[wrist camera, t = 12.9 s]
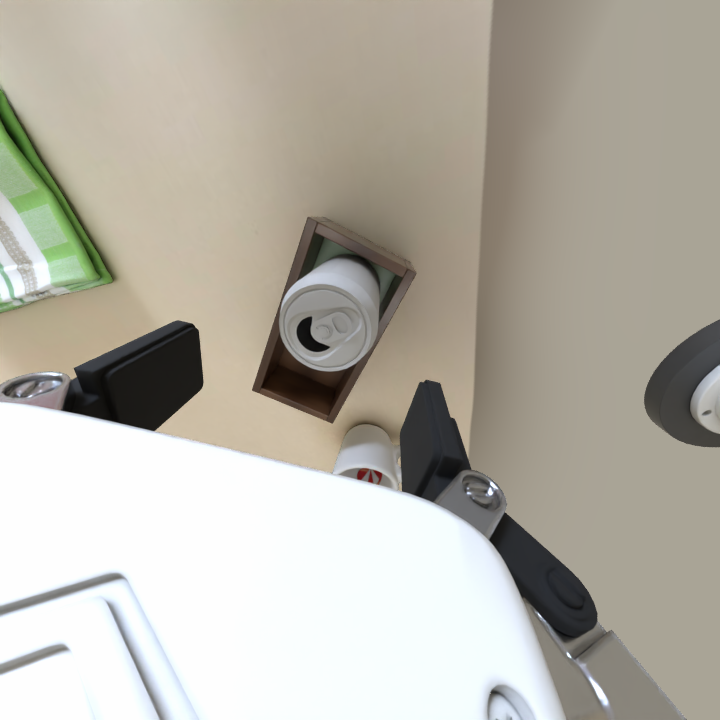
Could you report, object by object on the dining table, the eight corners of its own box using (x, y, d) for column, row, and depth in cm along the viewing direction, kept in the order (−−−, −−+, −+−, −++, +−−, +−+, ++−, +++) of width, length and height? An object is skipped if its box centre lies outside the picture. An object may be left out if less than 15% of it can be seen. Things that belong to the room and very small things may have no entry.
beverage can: (305, 270, 26) (250, 306, 15) (363, 240, 24) (347, 256, 14) (335, 326, 28) (306, 390, 18) (390, 302, 27) (394, 356, 16)
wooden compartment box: (410, 262, 26) (417, 273, 21) (340, 392, 34) (332, 423, 29) (323, 216, 24) (307, 216, 19) (272, 363, 33) (251, 390, 27)
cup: (412, 410, 34) (420, 460, 27) (419, 454, 38) (427, 508, 31) (333, 419, 36) (320, 468, 29) (347, 460, 40) (338, 513, 32)
